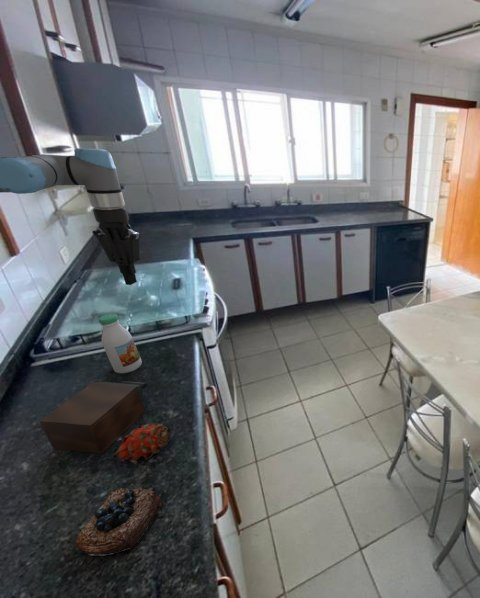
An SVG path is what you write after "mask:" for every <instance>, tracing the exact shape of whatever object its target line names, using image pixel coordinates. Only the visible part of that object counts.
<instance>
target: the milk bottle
mask: <svg viewBox="0 0 480 598" xmlns="http://www.w3.org/2000/svg"><path fill="white" fill-rule="evenodd" d="M119 321H120V320H119V317H118V315H117V314H115V313H108V314H105V315H102V316H100V317H99V318H98V323H99V325H100V327H102V334H101V344H102V347H103V349H104V351H105V354H106V356H107V359H108V360H109V363H110V365H111V367H112V369H113V371H114V372H115V373H117V374H127V373H131V372H133V371H136V370H137V369H139V368H140V367H141V366H142V363H143V361H142V358H141V356H140V352H139V350H138V348H137V345H136V343H135V341H134V339H133V336H132V334H131V333H130V332H129V330H128V329H126V328H125V327H124V326H122V324H121V323H120V322H119Z"/></svg>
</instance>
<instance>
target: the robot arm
mask: <svg viewBox="0 0 480 598" xmlns="http://www.w3.org/2000/svg"><path fill="white" fill-rule="evenodd" d="M73 151H74V155H60V154H45V153H44V154H43V153H40V154H41V155H32V156H22V157H15V156H0V193H11V194H12V193H13V194H16V195H21V194H23V195H25V194H33V193H36V192H39V191H41V190H45V189H49V188H52V187H56V186H84V188H85V191H86V193H87V196H88V199H89V203H90V207H92V208H93V209H92V212H93V215H94V219H95V222H97V223H98V228H97V229H95V230H92V235H94V236H95V238H96V239H97V240H98V242H99V244H100V245H101V247H102V249H103V251H104V253H105V254H106V256H107V258H108V260H109V261H110V262H111V263H115V264H116V265H117V266H118V269H119V273H120V274H121V275H122V277H123V281H124V284H125V285H126V286H132V285H134V284H135V283H138V280H137V276H136V274H137V270H136V267H135V264H136V263H138V262H140V238H141V236H142V234H141V232H140V231H137V232H136V231H135V230H133V229H132V226H131V225H130V223H129V220H130V217H129V213H128V209H127V207H125V206H126V203H125V200H124V199H125V198H124V195H123V191H122V188H121V184H120V181H119V176H118V172H117V166H116V165H115V163H114V159H113V157H112V154H111V152H110V151H109V150H106V149H103V148H86V147H84V148H83V147H77V148H74V150H73Z"/></svg>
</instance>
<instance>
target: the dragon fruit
mask: <svg viewBox="0 0 480 598" xmlns="http://www.w3.org/2000/svg"><path fill="white" fill-rule="evenodd" d="M171 430H172V429H171V428H169V427H167V426H165V425H164V424H162V423H155V424H153V423H146V424H141V425H140V426H139V427H137V428H136V427H135V428H134V429H132V430H131V431H130V432H129V433H128V434H126V435H125V436H123V437H122V438H123V439H122V442H121V444H120V445H119V447H118V448H117V450H116V452H115V453H114V455H113V457H112V459H113V460H116V458H117V459H119V460H121V461H122V462H124V463H127V462H131V463H132V464H133V465H135V464H136V463H138V459H140V458H141V457H143V458H144V459H145V460H149V459H150V458H151V457H153V456H154V454H158V453H160V450H161V448H163V447H167V445H168V444H169V443H168V440H170V438H171V434H170V433H171Z"/></svg>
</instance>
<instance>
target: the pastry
mask: <svg viewBox="0 0 480 598" xmlns="http://www.w3.org/2000/svg"><path fill="white" fill-rule="evenodd" d="M162 501H163V500H162V497H161V496H158V493H157V492H156V491H153V490H151V489H145V488H143V487H139V488H131V487H130V488H128V487H127V488H123V487H121V488H119V489H115V490H114V491H110V493H109V495H108V497H107V499H106V500H105V501H104V502H103V503H102V504H101V505H100V507H99V508H98V509H97V510H96V511H95V512H94V513H93V515H92V517H91V518H90V520H89V521H88V522H87V523H86V524H85V525H84V527H82V529H81V531H80V532H79V533H78V535H77V539H76V541H75V546H76V547H78V548H79V549H80V550H81V551H82V552H83V553H85V554H86V555H87V554H110V553H115V552H119V551H122V550H124V549H127V548H132V547H133V546H134V545H135V544H136V543H137V541H138V540H139V538H140V537H141V536H142V534H143V532H144V531H145V529H146V528H147V526H148V525H149V524H150V523H151V524H153V522H154V520H155V518H156V516H157V514H158V512H159V511H160V509H161V507H162V503H163V502H162ZM154 515H156V516H154ZM151 521H153V522H151ZM137 544H138V543H137ZM137 544H136V545H137ZM136 545H135V546H136ZM135 546H134V547H135ZM134 547H133V548H134ZM133 548H132V549H133Z"/></svg>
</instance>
